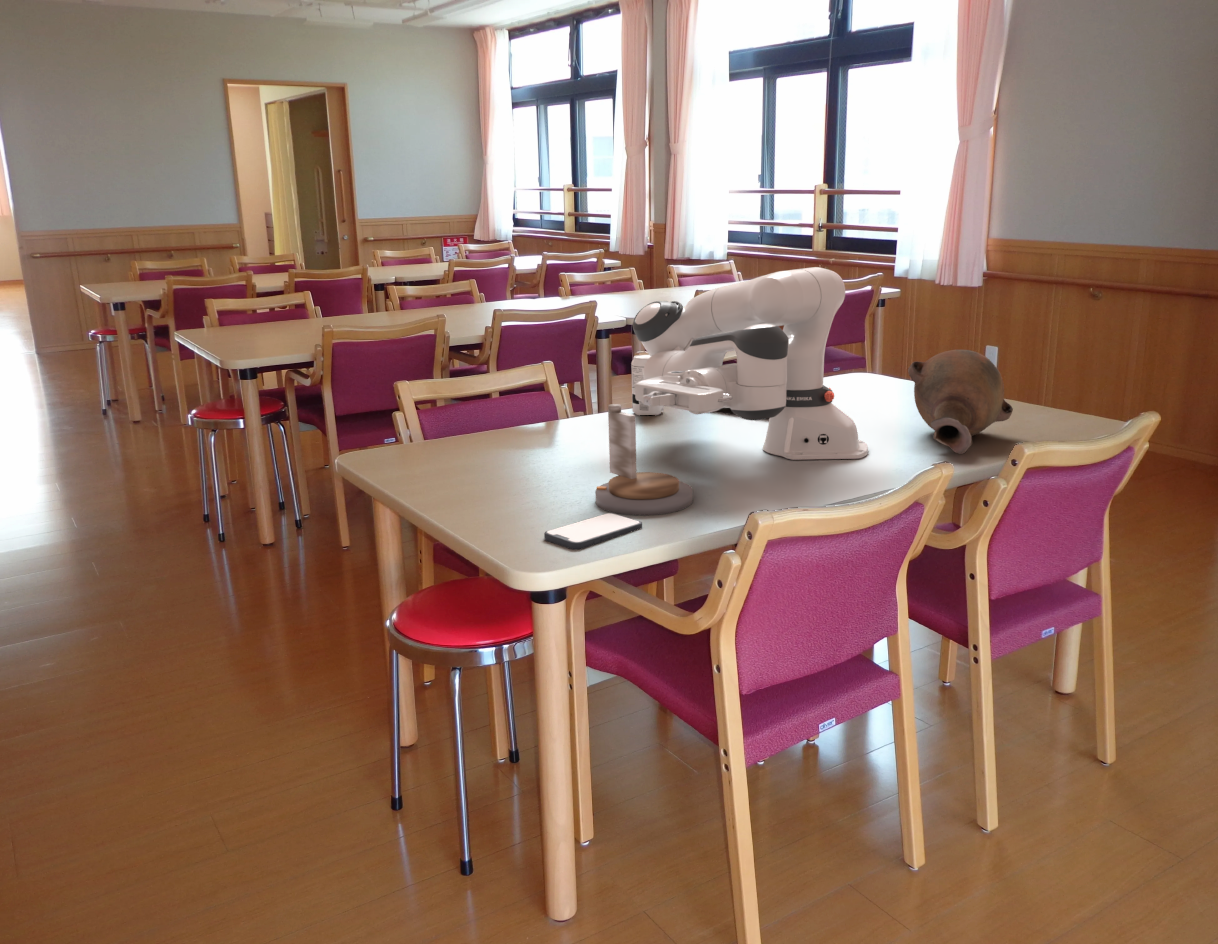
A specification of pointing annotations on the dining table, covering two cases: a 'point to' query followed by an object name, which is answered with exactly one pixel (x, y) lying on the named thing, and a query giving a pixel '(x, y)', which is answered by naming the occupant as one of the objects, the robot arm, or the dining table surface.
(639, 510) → the dial base
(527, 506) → the dining table surface
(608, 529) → the smartphone
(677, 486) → the dial
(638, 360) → the supplement can
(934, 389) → the jug
